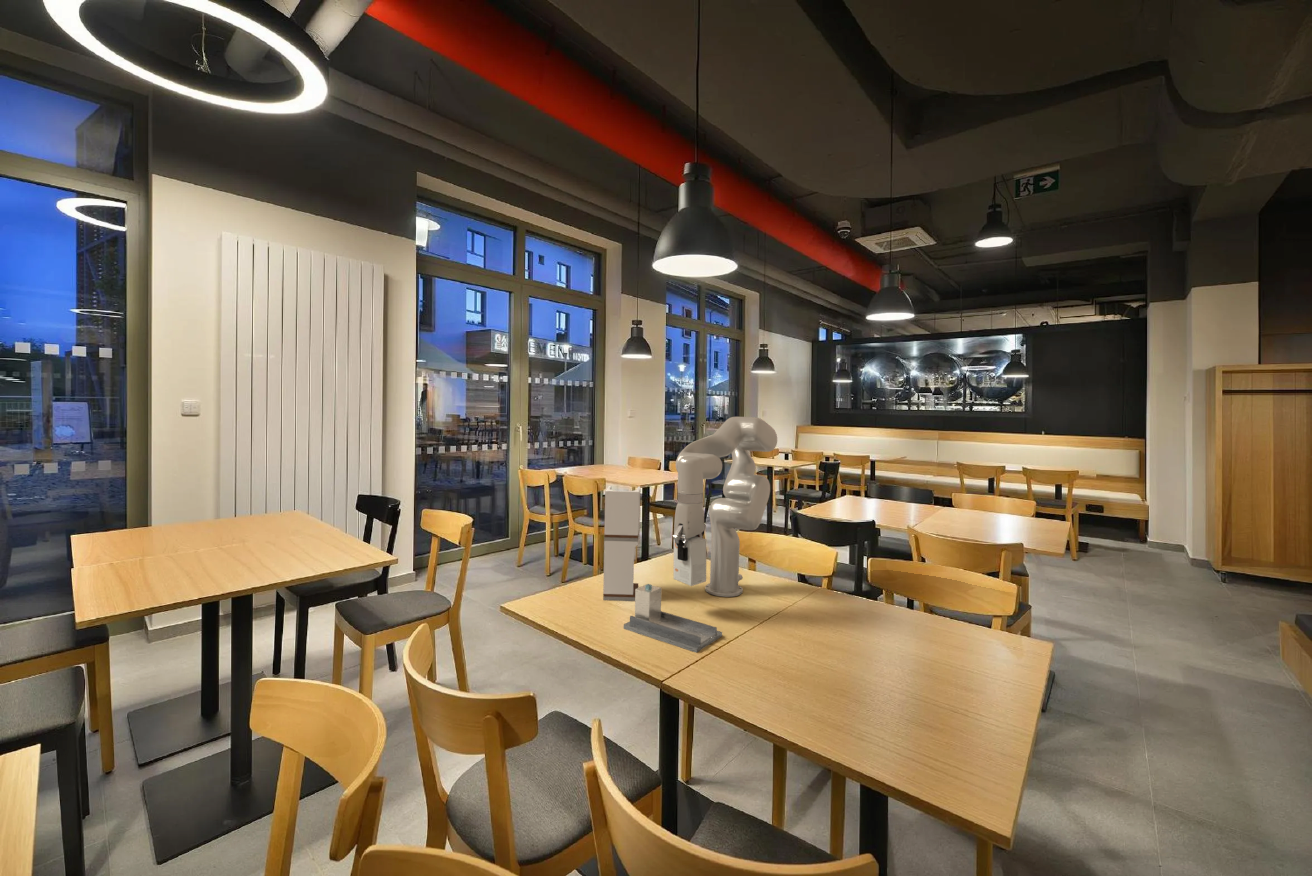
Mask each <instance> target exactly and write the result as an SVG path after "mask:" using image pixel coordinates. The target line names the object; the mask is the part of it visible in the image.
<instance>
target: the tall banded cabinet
mask: <svg viewBox="0 0 1312 876" xmlns="http://www.w3.org/2000/svg"><path fill="white" fill-rule="evenodd" d="M640 517H641V486H637V488H636V489H635V490H613V489H612V485H608V486H607V487H606V489H605V491H604V533H603V534H604V539H603V540H604V541H603V543H604V544H603V551H604V552H603V589H602V590H603V592H602V593H603V594H602V596H603V598H602V599H603V601H617V602H618V601H619V602H620V601H622V602H635V589H637V588H639V583H637V582H635V583H634V579H635V578H634V575H635V574H634V572H635V571H634V570H635V569H634V567H635V562H636V557H637V556H636V550H637V549H636V547H638V546H639V542H640V528H641V527H640V526H641V525H640V523H641V519H640Z"/></svg>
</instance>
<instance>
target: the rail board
mask: <svg viewBox="0 0 1312 876" xmlns="http://www.w3.org/2000/svg"><path fill="white" fill-rule="evenodd" d="M623 629H624V630H626V631H630V632H633V633H635V634H639V635H642V636H645V637H648V638H651V639H654V640H657V641H660V642H663V643H667V644H669V645H672V646H675V647H679V648H681V649H684V650H686V651H690V652H693V653H695V654H697V653H698V652H701V651H702V650H703V649H705V648H706V647H708V646H709V645H711V644H713V643H714V642H716V641H717V640H719V639H720V638H721V637H723V631H719V630H718V627H717V626H713V625H710V624H706V623H703V622H700V621H696V620H693V619H690V618H686V617H682V616H679V615H675V614H672V613H670V612H665V611H662V587H661V586H655V585H653V584H650V583H647V584H644V585H642V586H640V587H639V586H638V588H637V589H635V601H634V615H630V616H629V621H628V622H626V623H624V624H623Z"/></svg>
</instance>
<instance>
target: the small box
mask: <svg viewBox="0 0 1312 876" xmlns="http://www.w3.org/2000/svg"><path fill="white" fill-rule="evenodd" d="M682 536H684V537H685V535H682ZM682 541H683V543H684V539H682ZM686 547H687V548H688V560H687V561H683V560H678V558H677V556H678V547H677V546H676V543H675V540H674V539H673V580H676V581H677V582H681V583H683V584H685V585H687V586H689V587H693V586H696V585H699V584H702V583H703V584H704V583H705V582H707V539H706V538H704V537H703V538H700V537H696V536H694V537H691V538H689V539H688V542H687V546H686Z"/></svg>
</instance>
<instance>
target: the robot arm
mask: <svg viewBox="0 0 1312 876" xmlns="http://www.w3.org/2000/svg"><path fill="white" fill-rule="evenodd" d="M777 445H778V435H777V432H776V430H775V429H774V428H773V427H772V426H771V425H770V424H769V423H768V422H766V421H765V420H764V419H761V418H759V417H756V416H754V417H753V416H731V417H729V418H727V419H726V420H725V421H724V422H723V423H722V424H721V425H720V427H718V429H716V431H715V432H714V433H713V434H711V435H708V436H705V437H702V438H700V439H697V440H695V441H692V442H690V443H689V444H688V445H686V446H684V448H683V449H682V450H681V451H680V453H679V454H678V456H677V458H676V460H675V469H676V471H677V504H676V506H675V507H676V508H675V514H674V524H673V525H674V526H673V527H674V528H673V535H672V538H673V541H674V540H675V543H676V546H677V547H678V556H677V558H678V560H683V561H687V560H688V548H687V547H686V546H687V542H688V539H689V538H691V537H694V536H696V537H700V538H703V539H704V534H705V531H706V528H707V525H706V524H705V511H704V480H713V479H716V478H717V477H718V476H719V475H720V474H721V473H722V470H723V461H722V460H721V458H724V457H727V456H730V455H731V457H732V460H731V461H732V462H731V465H730V468H729V471H728V473H727V475H726V479H725V481H724V484H723V488H722V491H723V492H722V493H723V495H724V497H719V498H716V499H714V500H712V501H711V502H710V506H709V509H708V510H709V511H708V514H709V522H710V531H711V537H710V539H711V542H710V544H711V545H710V568H709V569H710V571H709V572H710V573H709V576H710V577H709V583H707V584H706V585H705V586H704V588H705V589H704V590H705V591H706V592H707V593H708V594H710V595H712V596H717V597H722V598H731V597H737V596H740V595H741V594H743V587H742V586H741V585H739V581H741V580H743V574H741V573H739V571H740V570H739V569H740V545H741V543H740V537H739V535H738V532H737V531H736V529H737V530H744V531H754V530H756V529H757V528H759V526H760V525H761V522H762V519H763V516H764V513H765V510H766V507H767V504H768V501H769V498H770V493H771V483H770V481H769V479H768V478H767V477H766V476H764V475H761V474H755V472H756V469H757V467H756V463H755V460H754V459H753V458H752V456H751V455H750V453H749V452H751V451H752V452H764V453H766V452H767V453H769V452H772V451H774V450H775V449H776V447H777ZM682 535H685V537H684V536H682ZM682 539H684V543H683V541H682Z"/></svg>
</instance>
